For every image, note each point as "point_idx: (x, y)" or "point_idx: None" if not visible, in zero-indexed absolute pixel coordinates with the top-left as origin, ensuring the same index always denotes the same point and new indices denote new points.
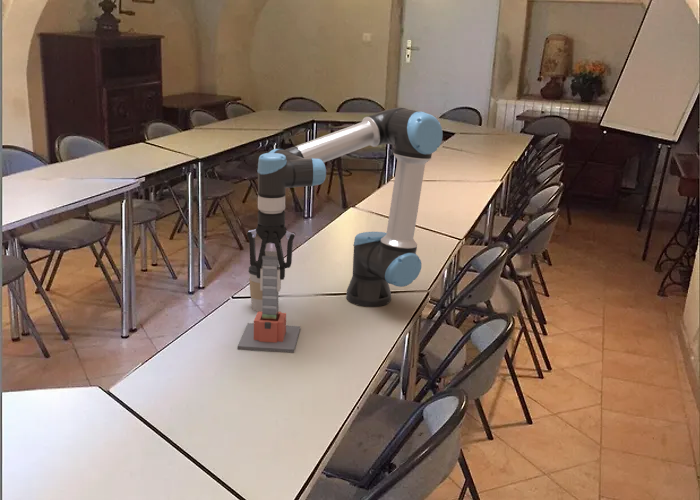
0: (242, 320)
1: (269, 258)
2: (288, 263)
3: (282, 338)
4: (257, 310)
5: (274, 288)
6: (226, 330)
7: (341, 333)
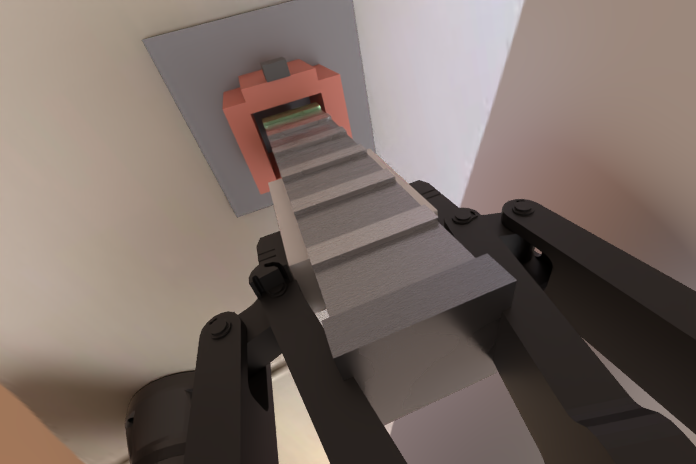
0: None
1: (417, 294)
2: (219, 350)
3: (224, 94)
4: None
5: (292, 168)
6: (417, 114)
7: (108, 245)
